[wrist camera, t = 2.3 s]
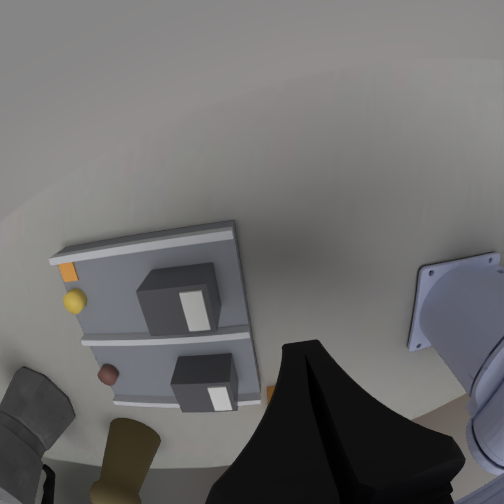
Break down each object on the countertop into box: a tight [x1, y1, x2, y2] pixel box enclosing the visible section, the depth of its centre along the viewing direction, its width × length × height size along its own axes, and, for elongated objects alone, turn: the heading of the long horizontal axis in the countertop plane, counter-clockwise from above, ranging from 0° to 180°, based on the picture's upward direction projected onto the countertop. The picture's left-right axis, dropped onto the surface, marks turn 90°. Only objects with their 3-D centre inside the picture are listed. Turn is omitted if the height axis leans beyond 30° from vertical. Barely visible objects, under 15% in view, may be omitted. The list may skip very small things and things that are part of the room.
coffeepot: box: [0, 367, 75, 504], centre depth 17 cm, size 15×9×18 cm, turn 13°
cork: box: [90, 418, 161, 504], centre depth 21 cm, size 6×6×11 cm
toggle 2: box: [170, 353, 239, 412], centre depth 19 cm, size 4×3×3 cm
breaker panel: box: [49, 220, 261, 408], centre depth 20 cm, size 13×14×2 cm
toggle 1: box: [136, 262, 222, 336], centre depth 17 cm, size 4×3×3 cm
